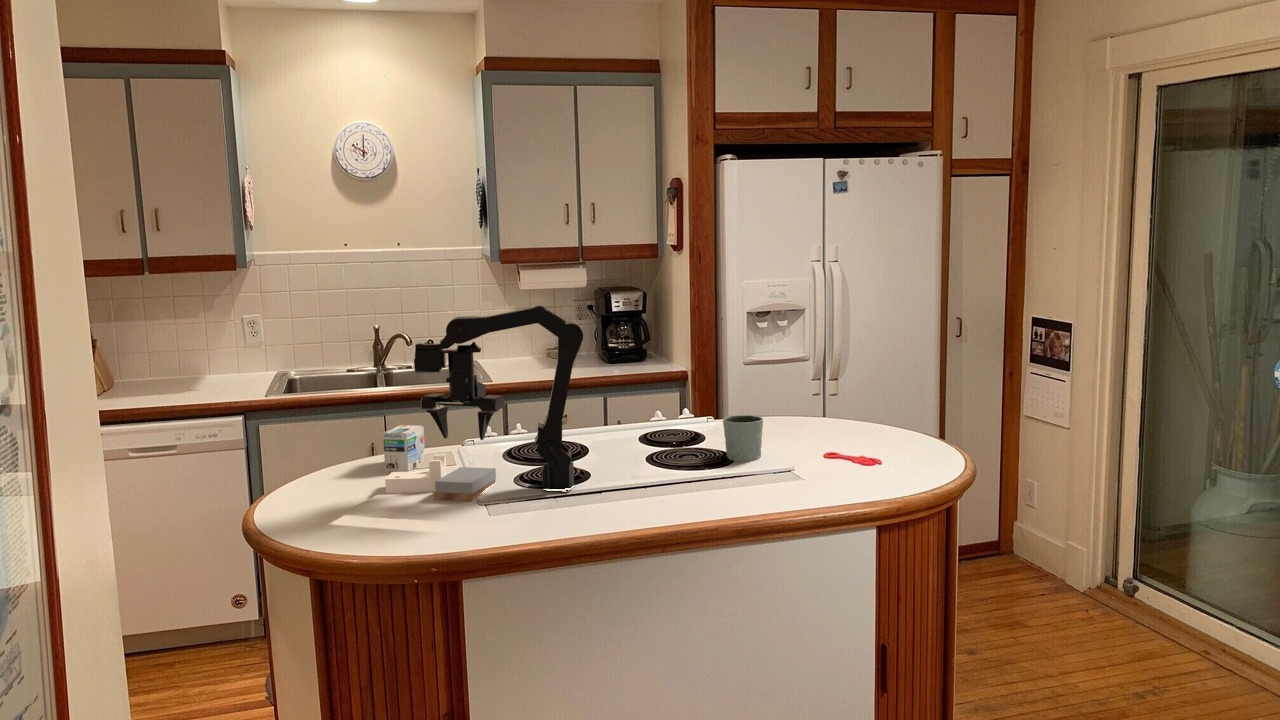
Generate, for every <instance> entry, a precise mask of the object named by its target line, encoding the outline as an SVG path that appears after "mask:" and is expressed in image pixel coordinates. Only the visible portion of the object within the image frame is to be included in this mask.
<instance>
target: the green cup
mask: <svg viewBox="0 0 1280 720" xmlns="http://www.w3.org/2000/svg"><path fill="white" fill-rule="evenodd" d="M722 422H723V423H722V425H723V432H724V438H725V439H724V440H725V443H724V444H725V450H726V451H725V452H726V458H727V457H728V458H729V459H728V458H727V459H728V460H730V461H733V462H740V463H741V462H754V461H757V460H760V459H761V457H762V443H763V442H762V439H763V429H764V428H763V426H764V418H763V417H762V416H759V415H753V414H736V415H728V416H726V417H723V419H722Z"/></svg>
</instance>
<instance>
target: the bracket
mask: <svg viewBox="0 0 1280 720" xmlns="http://www.w3.org/2000/svg"><path fill="white" fill-rule="evenodd" d="M428 464H429V465H428V466H429V467H428V468H429V470H428V471H427V470H425V471H424V470H422V471H419V470H417V471H414V470H413V471H410V472H390V474H388V476H386V478H385V479H384V483H385V493H386V494H394V493H395V494H396V493H397V494H398V493H400V494H401V493H402V494H403V493H404V494H405V493H430V492H431V493H434V492H435V491H436V490H435V481H437V480H439V479H440V478H442V477H444V476H446V475H447V465H446V464H447V462H446V454H445V453H444V454H441V453H440V454H433V459H432V460H429V461H428Z"/></svg>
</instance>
